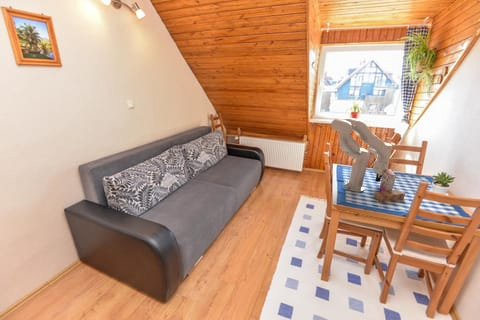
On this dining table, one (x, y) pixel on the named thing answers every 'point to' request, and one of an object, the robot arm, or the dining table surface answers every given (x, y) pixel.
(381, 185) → the candy bar box
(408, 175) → the dining table surface
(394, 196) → the brown lumpy bar
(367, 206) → the dining table surface
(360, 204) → the dining table surface
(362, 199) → the dining table surface
